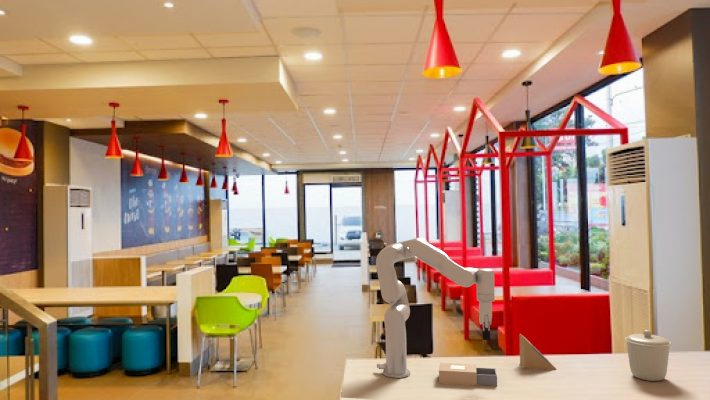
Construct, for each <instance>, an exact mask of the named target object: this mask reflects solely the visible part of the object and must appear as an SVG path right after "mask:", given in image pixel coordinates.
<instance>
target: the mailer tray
mask: <svg viewBox="0 0 710 400" xmlns="http://www.w3.org/2000/svg"><path fill="white" fill-rule="evenodd" d="M476 372H477V385H476V386H490V387H491V386H495V387H498V374H497V369H496V368H491V367H490V368H488V367H487V368H486V367H476Z"/></svg>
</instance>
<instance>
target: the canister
mask: <svg viewBox="0 0 710 400" xmlns="http://www.w3.org/2000/svg"><path fill="white" fill-rule="evenodd" d="M624 341H625V342H626V348H627V355H628V357H627V358H628V361H629V368H630V372H631V374H632V375H633V376H634V377H635V378H637V379H639V380H644V381H648V382H656V381H657V382H659V381H663V380H664V379H666V377H667V372H668V364H669V355H670V347H671V346H672V342H671V341H670V340H668V339H667V338H666V337H663V336H659V335H656V334H653V332H652V331H651V330H650V329H644V330H643V331H642V333H632V334H629V335H627V336H626V337H624Z"/></svg>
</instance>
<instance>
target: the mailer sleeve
mask: <svg viewBox="0 0 710 400" xmlns="http://www.w3.org/2000/svg"><path fill="white" fill-rule="evenodd" d="M476 368H477V364H473V363H472V364H471V363H452V362H451V363H449V362H439V367H438V383H439V384H445V385H446V384H447V385H461V386H462V385H463V386H464V385H465V386H478V385H477V372H476Z"/></svg>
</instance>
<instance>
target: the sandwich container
mask: <svg viewBox="0 0 710 400" xmlns="http://www.w3.org/2000/svg"><path fill="white" fill-rule="evenodd" d="M519 365H520V366H521V367H522V368H523V370H540V369H543V370H544V369H545V371H546V370H547V371H548V370H550V369H552V371H553V370H555V369H557V368H556V366H555V365H554V364H553V363H552V362H551V361H550V360H549V359H548V358H547V357H545V356H544V355H543V354H542V353H541V351H540V350H538V349H537V348H536V346H534V345H533V344H532V343H531V342H530V341H529V340H528V339H527V338H526V337H525V336H524V335H522V334H521V333H519ZM555 371H556V370H555Z"/></svg>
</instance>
